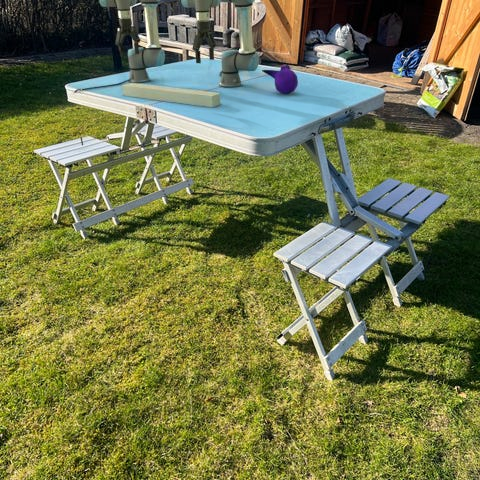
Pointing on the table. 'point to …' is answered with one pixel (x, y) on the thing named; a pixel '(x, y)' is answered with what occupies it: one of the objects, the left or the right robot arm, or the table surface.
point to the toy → (284, 79)
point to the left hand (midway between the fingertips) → (130, 55)
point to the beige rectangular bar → (172, 94)
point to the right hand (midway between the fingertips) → (205, 61)
